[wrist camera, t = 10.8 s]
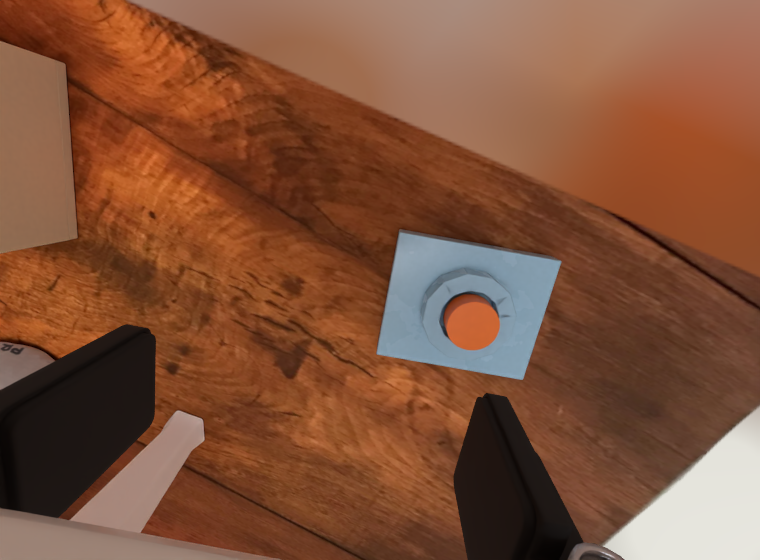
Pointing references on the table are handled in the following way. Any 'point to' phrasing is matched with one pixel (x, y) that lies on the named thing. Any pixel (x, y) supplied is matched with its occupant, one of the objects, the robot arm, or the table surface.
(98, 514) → the perfume bottle
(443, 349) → the box
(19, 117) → the chest
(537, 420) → the table surface
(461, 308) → the button
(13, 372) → the grey rounded lump
